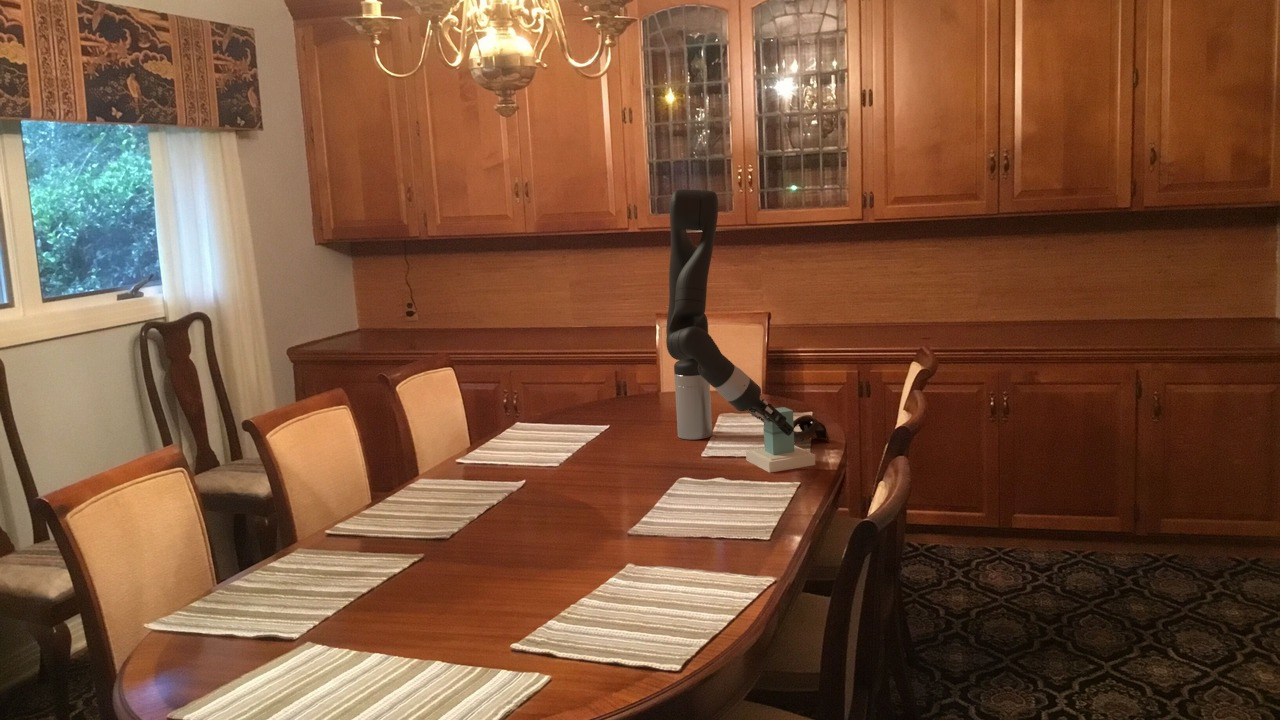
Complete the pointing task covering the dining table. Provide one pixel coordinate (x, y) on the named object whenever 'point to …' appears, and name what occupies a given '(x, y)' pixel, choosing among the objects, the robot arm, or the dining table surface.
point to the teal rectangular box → (779, 435)
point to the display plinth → (780, 459)
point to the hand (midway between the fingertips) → (782, 428)
